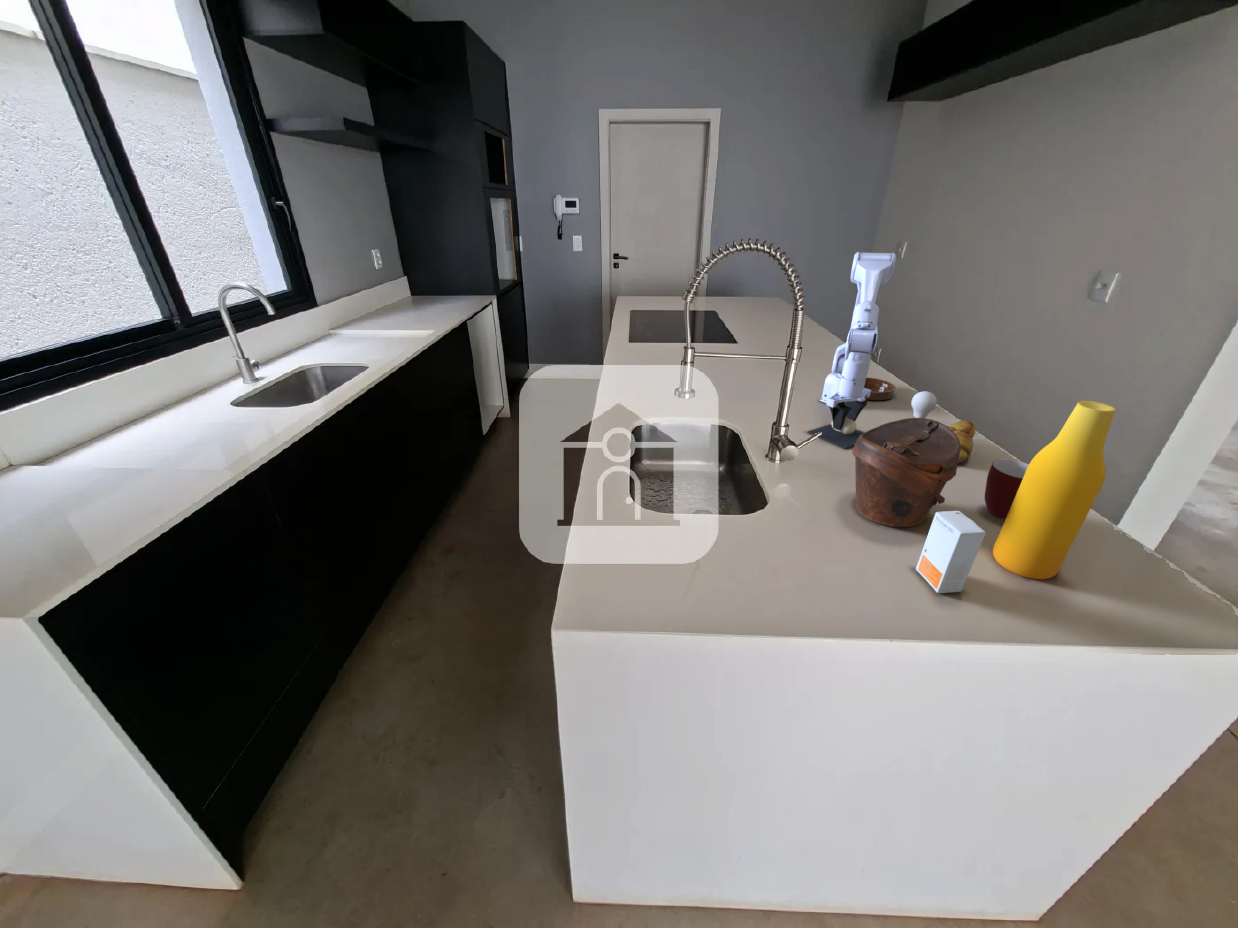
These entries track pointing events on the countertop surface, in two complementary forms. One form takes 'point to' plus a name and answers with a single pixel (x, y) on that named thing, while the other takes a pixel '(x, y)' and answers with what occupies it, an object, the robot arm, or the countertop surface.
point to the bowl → (879, 389)
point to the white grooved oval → (847, 426)
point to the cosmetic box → (949, 551)
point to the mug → (1003, 485)
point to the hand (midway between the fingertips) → (842, 427)
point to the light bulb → (923, 404)
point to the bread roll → (964, 437)
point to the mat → (837, 436)
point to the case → (903, 470)
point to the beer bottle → (1056, 495)
